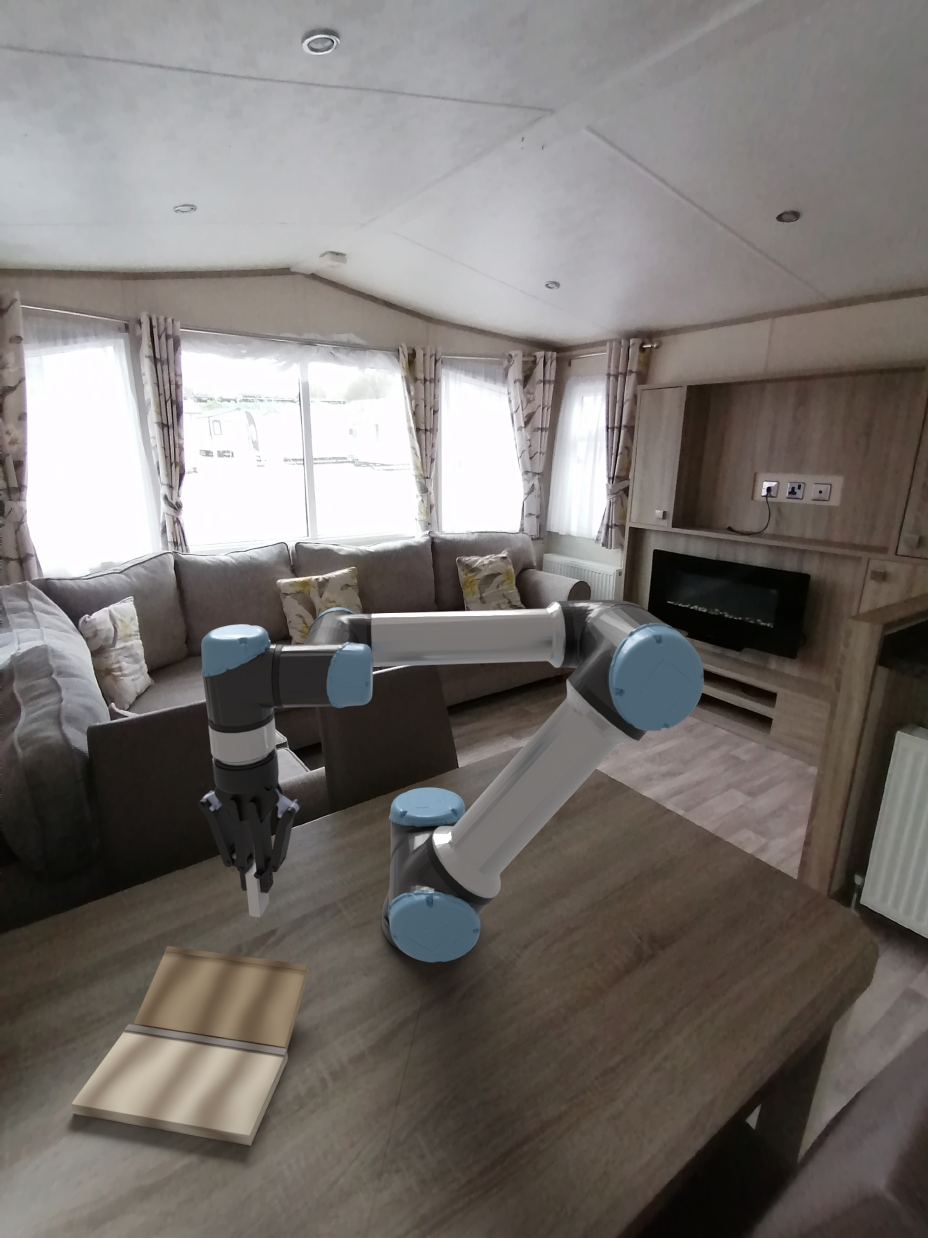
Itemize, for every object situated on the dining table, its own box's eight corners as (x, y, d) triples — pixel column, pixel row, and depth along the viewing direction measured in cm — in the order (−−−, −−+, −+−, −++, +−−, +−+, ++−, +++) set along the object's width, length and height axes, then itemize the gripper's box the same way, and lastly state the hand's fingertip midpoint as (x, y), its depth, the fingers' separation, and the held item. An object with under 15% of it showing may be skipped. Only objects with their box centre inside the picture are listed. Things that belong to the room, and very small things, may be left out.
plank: (310, 968, 85) (307, 965, 84) (287, 1049, 79) (284, 1046, 78) (171, 949, 88) (167, 945, 87) (138, 1026, 82) (133, 1023, 80)
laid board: (287, 1059, 78) (286, 1049, 77) (250, 1146, 68) (249, 1134, 68) (130, 1034, 81) (128, 1024, 80) (73, 1114, 71) (70, 1102, 71)
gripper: (307, 740, 77) (316, 895, 84) (211, 732, 79) (228, 884, 86) (282, 771, 70) (294, 937, 77) (177, 761, 72) (198, 924, 78)
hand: (259, 909), depth 81 cm, fingers closed
